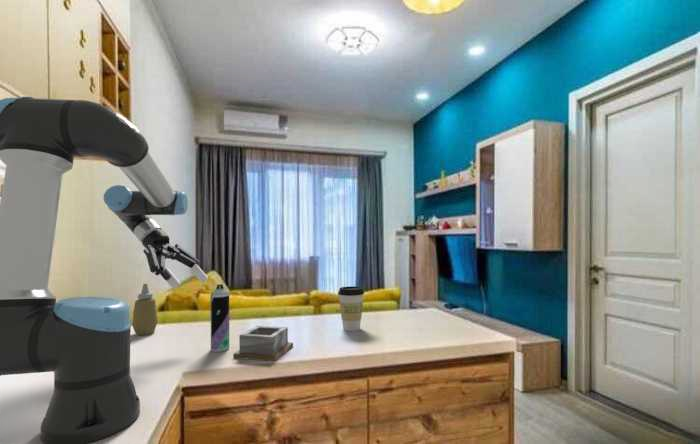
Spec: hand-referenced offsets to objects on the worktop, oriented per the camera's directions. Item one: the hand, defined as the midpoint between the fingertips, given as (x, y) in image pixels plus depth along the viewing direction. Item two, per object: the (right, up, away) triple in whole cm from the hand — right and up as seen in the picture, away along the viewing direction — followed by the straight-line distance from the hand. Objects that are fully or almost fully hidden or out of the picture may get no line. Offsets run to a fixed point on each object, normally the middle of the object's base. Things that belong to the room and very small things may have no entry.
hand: (192, 283), depth 114 cm
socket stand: (+25, -20, -7) cm, 32 cm away
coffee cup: (+51, -20, +18) cm, 58 cm away
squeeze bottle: (-24, -21, +16) cm, 36 cm away
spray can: (+10, -20, -3) cm, 23 cm away
